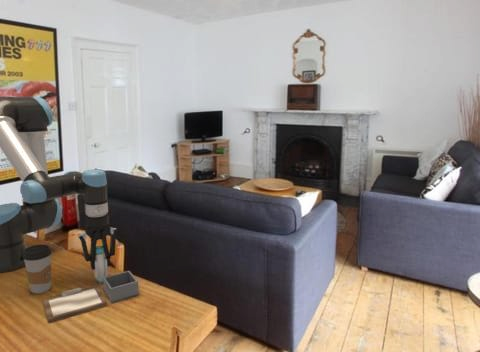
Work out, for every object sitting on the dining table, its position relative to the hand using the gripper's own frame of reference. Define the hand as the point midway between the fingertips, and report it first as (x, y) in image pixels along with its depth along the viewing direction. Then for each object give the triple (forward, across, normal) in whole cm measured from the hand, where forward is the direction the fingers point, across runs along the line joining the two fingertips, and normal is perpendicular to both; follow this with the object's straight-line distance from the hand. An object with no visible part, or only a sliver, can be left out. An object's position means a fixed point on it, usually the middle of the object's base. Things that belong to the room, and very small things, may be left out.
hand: (101, 275), depth 132 cm
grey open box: (+2, +4, -12) cm, 13 cm away
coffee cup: (+2, -19, +5) cm, 20 cm away
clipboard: (+2, -11, -11) cm, 16 cm away
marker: (+2, 0, 0) cm, 2 cm away
